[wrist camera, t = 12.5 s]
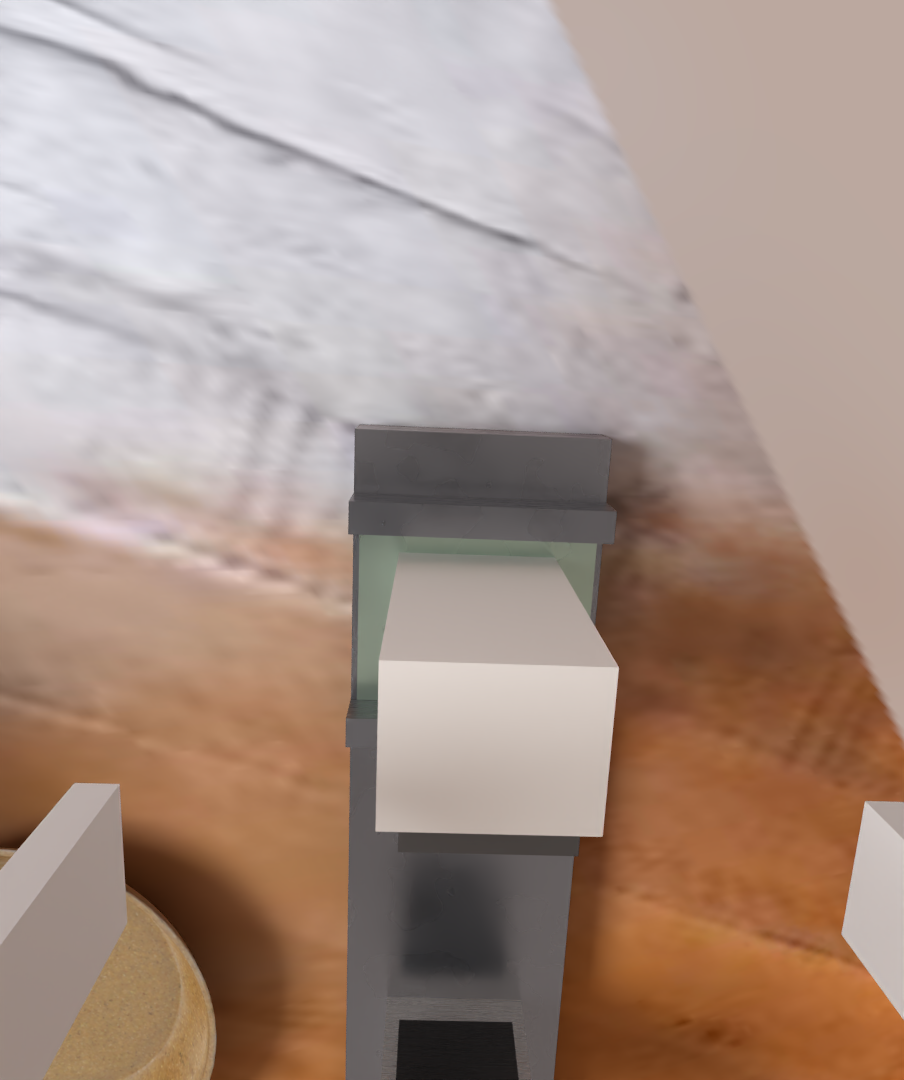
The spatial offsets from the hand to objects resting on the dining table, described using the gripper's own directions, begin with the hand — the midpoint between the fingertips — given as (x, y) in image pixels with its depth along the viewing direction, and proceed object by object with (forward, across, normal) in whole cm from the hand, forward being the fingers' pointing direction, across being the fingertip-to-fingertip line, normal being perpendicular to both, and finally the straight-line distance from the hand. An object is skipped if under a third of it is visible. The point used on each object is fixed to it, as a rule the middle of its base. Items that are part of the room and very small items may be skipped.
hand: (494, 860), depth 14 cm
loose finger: (+12, 0, +1) cm, 12 cm away
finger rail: (+14, 0, -8) cm, 16 cm away
